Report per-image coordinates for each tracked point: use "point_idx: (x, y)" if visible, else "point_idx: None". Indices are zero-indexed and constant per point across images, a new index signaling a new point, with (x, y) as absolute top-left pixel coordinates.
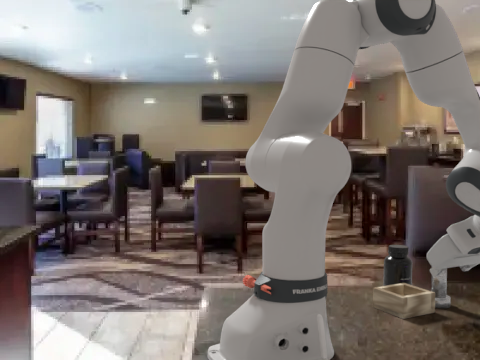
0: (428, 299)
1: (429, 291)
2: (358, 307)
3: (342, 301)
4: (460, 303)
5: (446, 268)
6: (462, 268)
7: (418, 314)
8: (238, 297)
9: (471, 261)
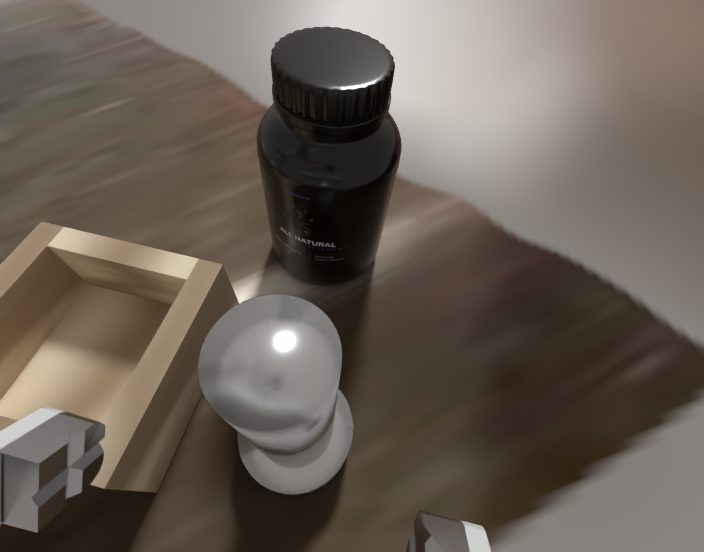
0: None
1: (110, 448)
2: None
3: (109, 182)
4: (402, 500)
5: (284, 445)
6: (414, 549)
7: None
8: (3, 36)
9: None
